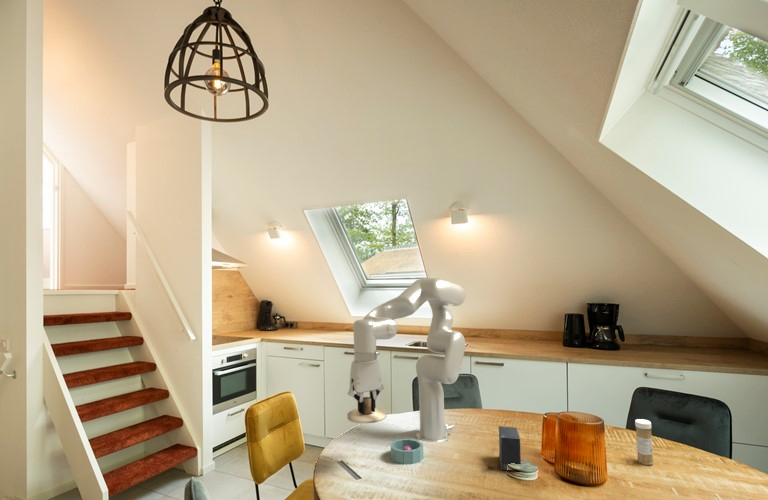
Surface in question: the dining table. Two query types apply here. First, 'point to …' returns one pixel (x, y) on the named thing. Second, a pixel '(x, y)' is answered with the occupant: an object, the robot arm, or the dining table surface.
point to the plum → (406, 448)
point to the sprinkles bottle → (644, 441)
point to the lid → (367, 413)
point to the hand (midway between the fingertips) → (366, 411)
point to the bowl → (407, 451)
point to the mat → (349, 470)
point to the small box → (509, 446)
